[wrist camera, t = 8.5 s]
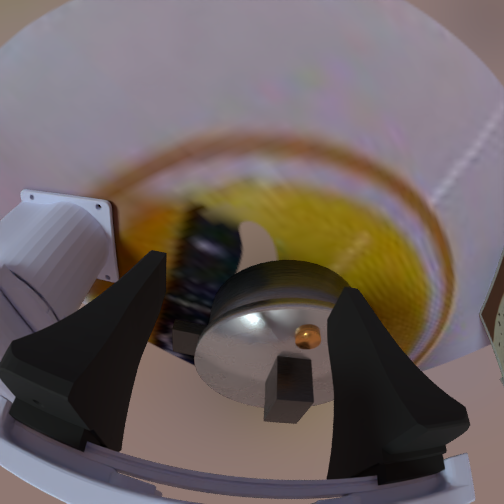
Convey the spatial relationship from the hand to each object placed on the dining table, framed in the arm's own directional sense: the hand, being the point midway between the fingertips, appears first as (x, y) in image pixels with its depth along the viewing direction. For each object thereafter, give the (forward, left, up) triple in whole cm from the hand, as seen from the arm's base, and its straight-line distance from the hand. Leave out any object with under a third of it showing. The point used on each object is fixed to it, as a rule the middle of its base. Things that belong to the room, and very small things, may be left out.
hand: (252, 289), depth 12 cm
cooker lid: (+4, -11, -4) cm, 13 cm away
